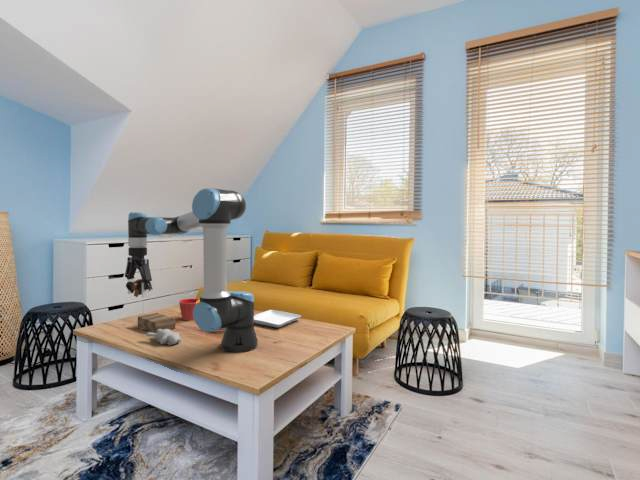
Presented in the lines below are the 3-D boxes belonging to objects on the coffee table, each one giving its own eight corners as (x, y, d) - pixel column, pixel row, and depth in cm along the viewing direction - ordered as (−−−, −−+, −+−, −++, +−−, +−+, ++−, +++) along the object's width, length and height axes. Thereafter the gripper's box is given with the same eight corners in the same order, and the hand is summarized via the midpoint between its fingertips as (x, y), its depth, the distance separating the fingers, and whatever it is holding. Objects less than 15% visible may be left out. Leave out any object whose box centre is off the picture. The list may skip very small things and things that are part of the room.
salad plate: (278, 331, 181) (279, 324, 181) (245, 324, 192) (245, 317, 191) (302, 321, 199) (302, 314, 199) (270, 315, 210) (270, 309, 210)
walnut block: (175, 328, 180) (175, 318, 180) (155, 333, 172) (155, 322, 171) (157, 322, 189) (157, 312, 189) (137, 326, 181) (137, 316, 181)
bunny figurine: (169, 338, 153) (144, 329, 159) (168, 350, 153) (143, 340, 160) (186, 332, 161) (162, 323, 168) (185, 344, 162) (161, 334, 168)
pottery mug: (155, 293, 176) (156, 280, 172) (146, 306, 168) (147, 292, 164) (129, 287, 175) (130, 273, 171) (119, 299, 167) (119, 285, 163)
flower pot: (205, 318, 200) (205, 300, 199) (188, 322, 190) (188, 303, 190) (191, 315, 205) (192, 297, 205) (174, 319, 196) (174, 301, 195)
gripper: (160, 248, 164) (160, 297, 165) (132, 245, 178) (132, 290, 179) (143, 248, 158) (144, 300, 159) (116, 245, 172) (116, 292, 173)
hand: (138, 295), depth 169 cm, fingers closed on pottery mug, 11 cm apart
